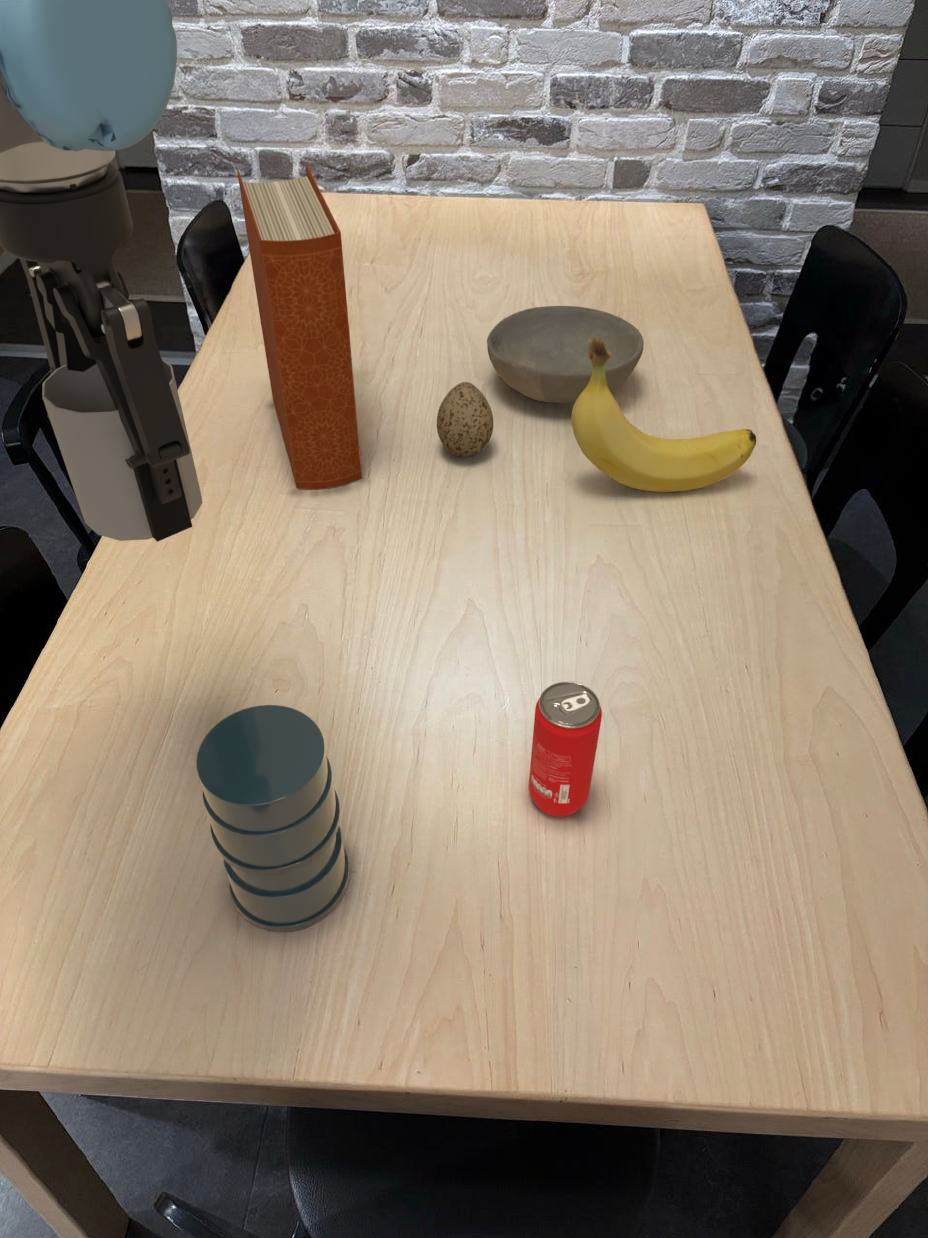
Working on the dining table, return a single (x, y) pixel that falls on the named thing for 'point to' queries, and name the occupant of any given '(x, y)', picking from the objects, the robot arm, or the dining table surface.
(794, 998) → the dining table surface
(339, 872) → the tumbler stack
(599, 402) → the banana
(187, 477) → the cup
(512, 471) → the dining table surface
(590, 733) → the beverage can
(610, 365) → the bowl
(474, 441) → the decorative egg
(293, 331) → the book
